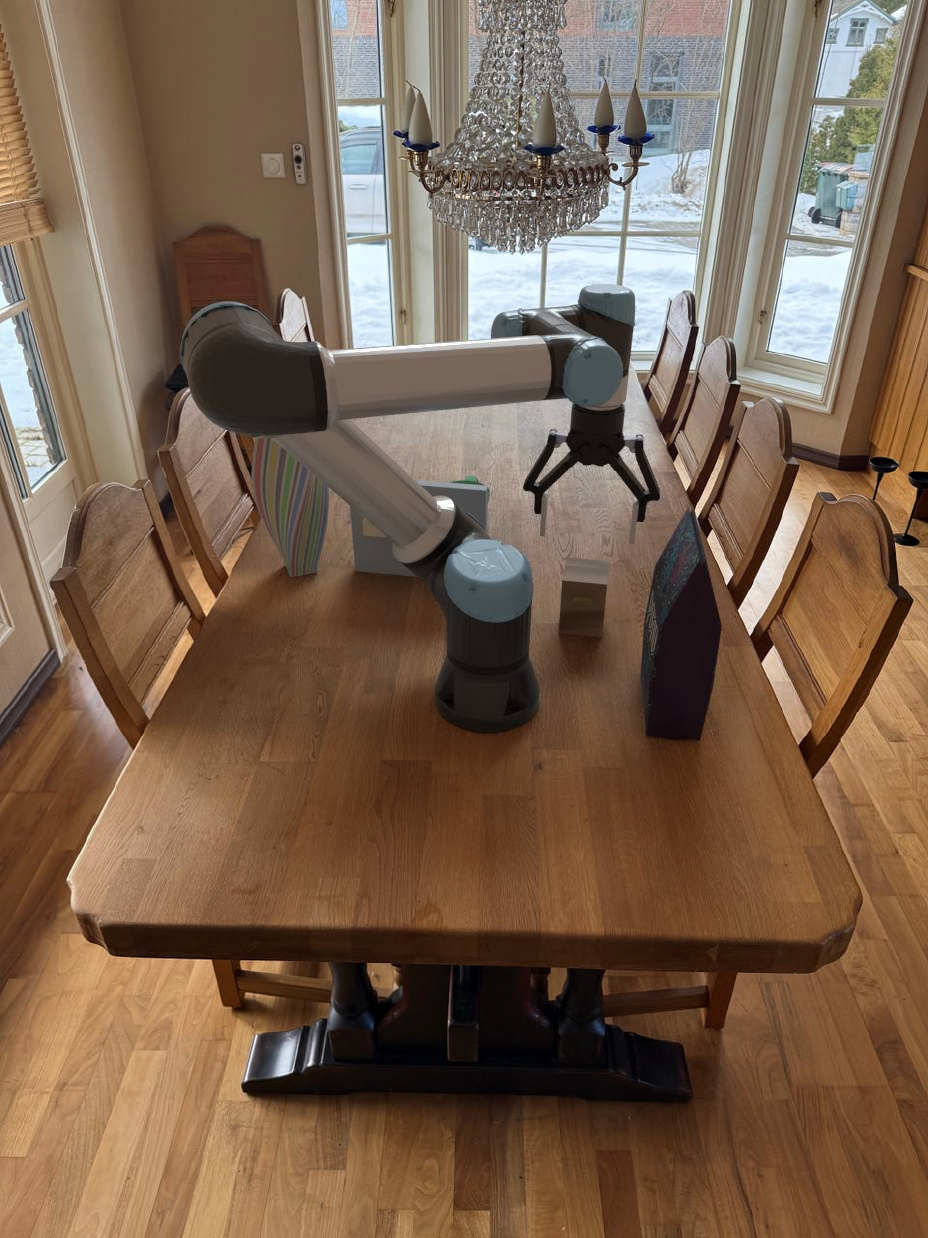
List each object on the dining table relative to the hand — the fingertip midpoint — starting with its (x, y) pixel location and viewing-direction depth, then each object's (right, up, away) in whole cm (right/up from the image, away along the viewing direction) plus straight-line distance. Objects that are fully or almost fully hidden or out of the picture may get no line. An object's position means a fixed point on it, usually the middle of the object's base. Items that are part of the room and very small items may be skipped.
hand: (587, 536), depth 135 cm
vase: (-49, -4, +26) cm, 55 cm away
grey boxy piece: (-27, -4, +25) cm, 37 cm away
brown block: (+1, -14, +10) cm, 17 cm away
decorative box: (+11, -25, -8) cm, 29 cm away
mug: (-19, +4, +38) cm, 42 cm away
